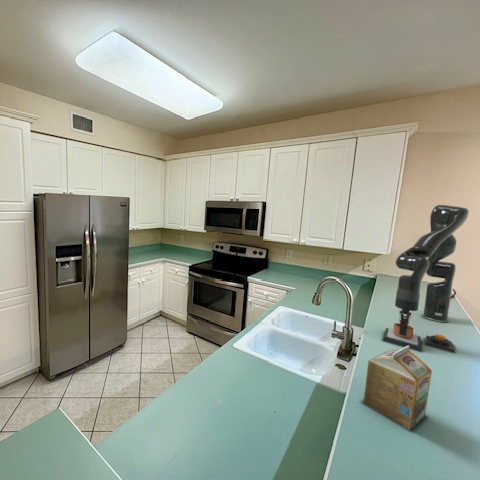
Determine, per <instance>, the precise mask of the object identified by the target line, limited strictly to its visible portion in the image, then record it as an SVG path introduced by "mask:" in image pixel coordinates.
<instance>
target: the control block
mask: <svg viewBox="0 0 480 480" xmlns="http://www.w3.org/2000/svg"><path fill="white" fill-rule="evenodd" d="M425 340H426V341H425V343H426V346H428V347H431V348H435V349H439V350H443V351H446V352H449V353H450V352H451V353H455V347H454V344H453V341H451V340H449V339H448V338H445V341H442V340H438V339H436V338H435V335H426V336H425Z"/></svg>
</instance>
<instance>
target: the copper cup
mask: <svg viewBox="0 0 480 480" xmlns="http://www.w3.org/2000/svg"><path fill="white" fill-rule="evenodd" d="M399 325H400V322H394V324H393V329H394V330H393V333H394V334H395V335H396V336H399V337H402V338H407V339H410V338H412V336H413V334H414V327H413V326H411V325H408V328H407V331H406V336H403V335H400V334H399V331H400V326H399ZM404 325H405V324H404Z"/></svg>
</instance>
